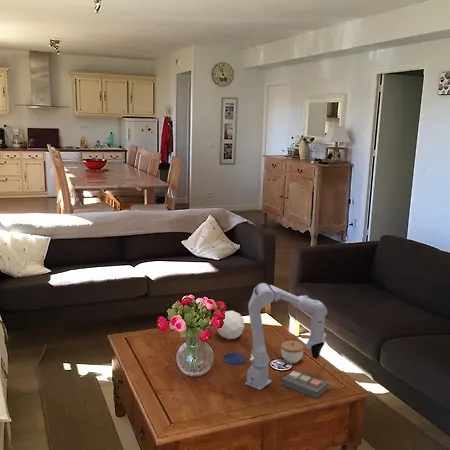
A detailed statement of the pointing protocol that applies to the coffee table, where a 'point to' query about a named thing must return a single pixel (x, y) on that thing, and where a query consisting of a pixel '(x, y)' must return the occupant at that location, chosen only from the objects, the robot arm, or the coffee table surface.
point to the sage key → (304, 379)
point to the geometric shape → (232, 325)
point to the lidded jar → (292, 351)
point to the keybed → (304, 386)
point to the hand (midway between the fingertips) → (315, 357)
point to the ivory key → (294, 375)
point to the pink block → (315, 383)
